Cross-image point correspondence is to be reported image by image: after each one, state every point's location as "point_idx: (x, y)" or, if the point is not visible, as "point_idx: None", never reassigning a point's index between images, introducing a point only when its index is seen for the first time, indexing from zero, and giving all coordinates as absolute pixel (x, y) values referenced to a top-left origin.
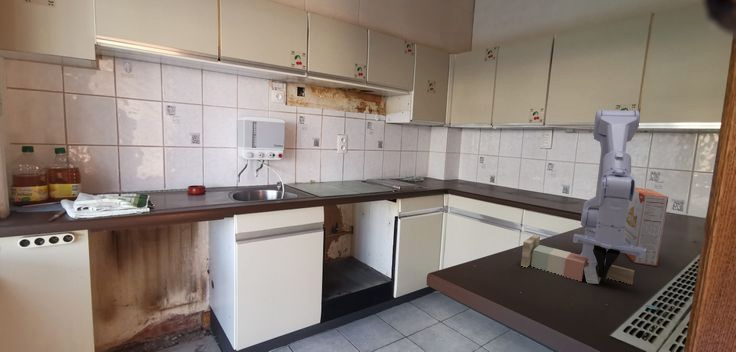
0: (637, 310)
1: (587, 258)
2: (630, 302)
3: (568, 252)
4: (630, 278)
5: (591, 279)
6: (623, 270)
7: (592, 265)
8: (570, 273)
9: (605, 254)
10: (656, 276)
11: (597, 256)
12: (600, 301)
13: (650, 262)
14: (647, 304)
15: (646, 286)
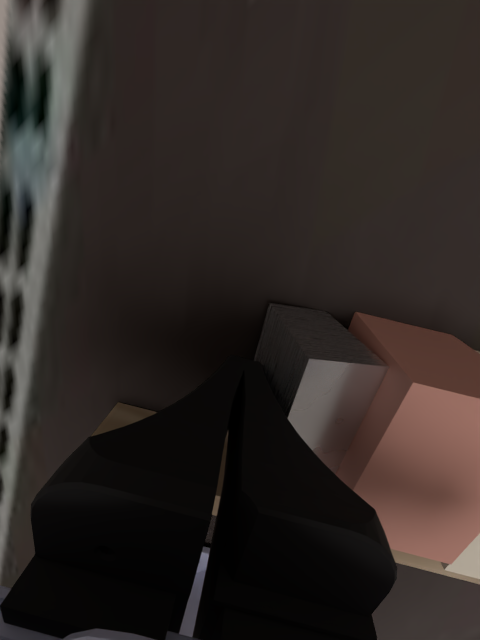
0: (82, 18)
1: None
2: (120, 147)
3: (468, 564)
4: (111, 427)
5: (309, 316)
6: None
7: (316, 410)
8: (434, 342)
9: (214, 549)
10: None
11: (309, 470)
12: (293, 5)
13: None
14: (47, 183)
15: (69, 417)
